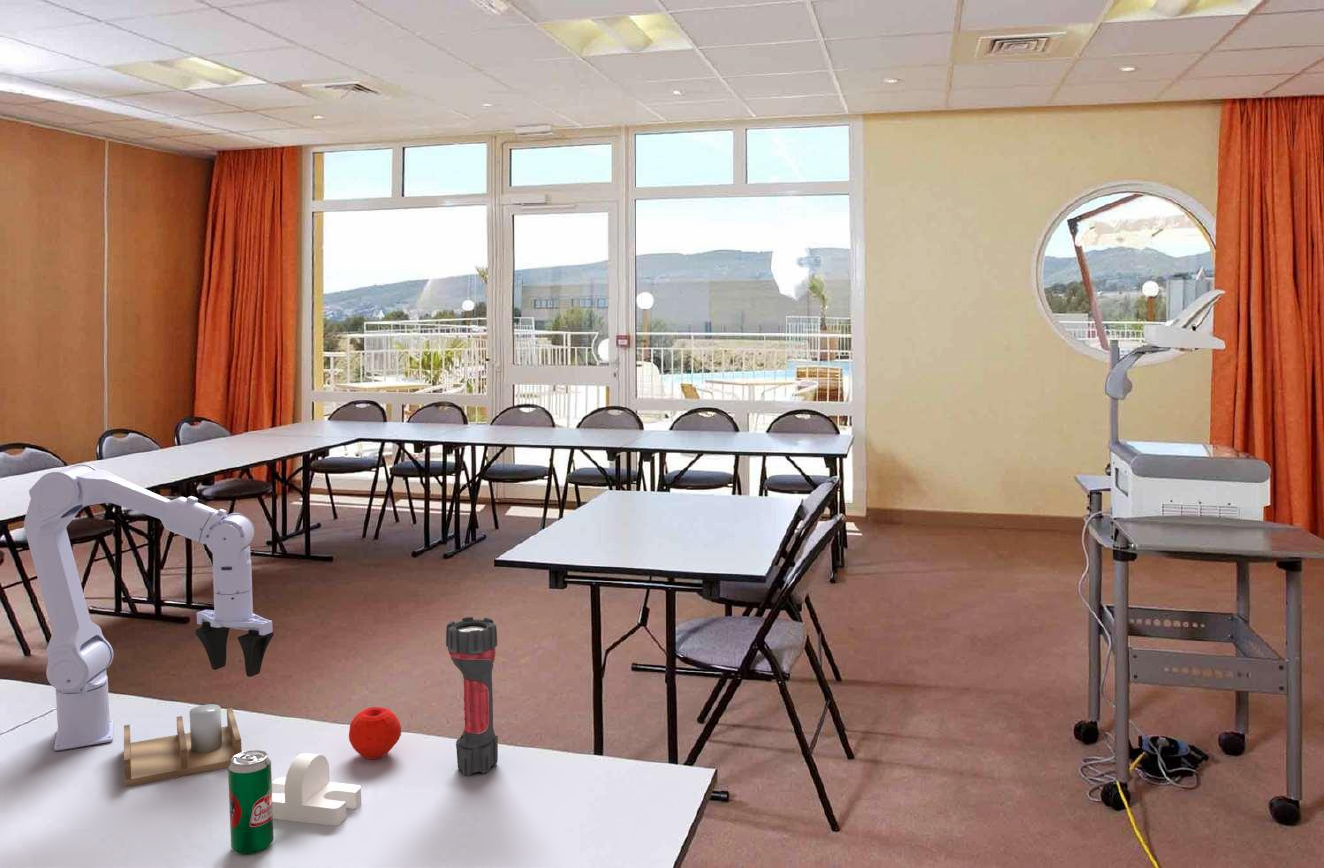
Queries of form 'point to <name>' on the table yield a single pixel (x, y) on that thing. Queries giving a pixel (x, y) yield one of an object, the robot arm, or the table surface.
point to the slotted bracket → (312, 793)
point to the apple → (374, 732)
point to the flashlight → (475, 691)
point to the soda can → (250, 802)
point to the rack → (176, 754)
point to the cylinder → (205, 728)
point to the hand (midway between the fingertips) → (235, 671)
